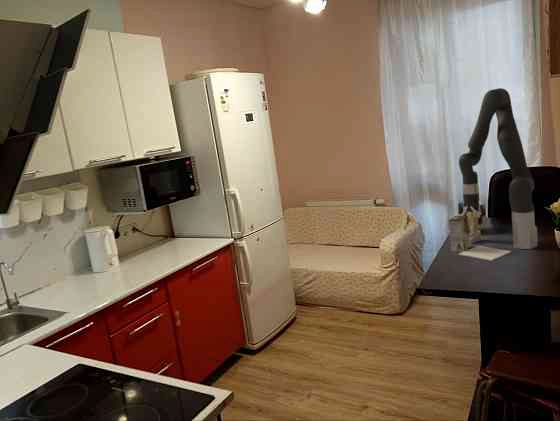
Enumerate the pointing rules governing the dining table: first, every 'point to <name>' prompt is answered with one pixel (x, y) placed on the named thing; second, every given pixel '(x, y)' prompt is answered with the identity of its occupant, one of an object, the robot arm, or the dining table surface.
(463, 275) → the dining table surface
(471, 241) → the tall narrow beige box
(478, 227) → the cantaloupe
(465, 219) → the coffee box
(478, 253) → the mat
